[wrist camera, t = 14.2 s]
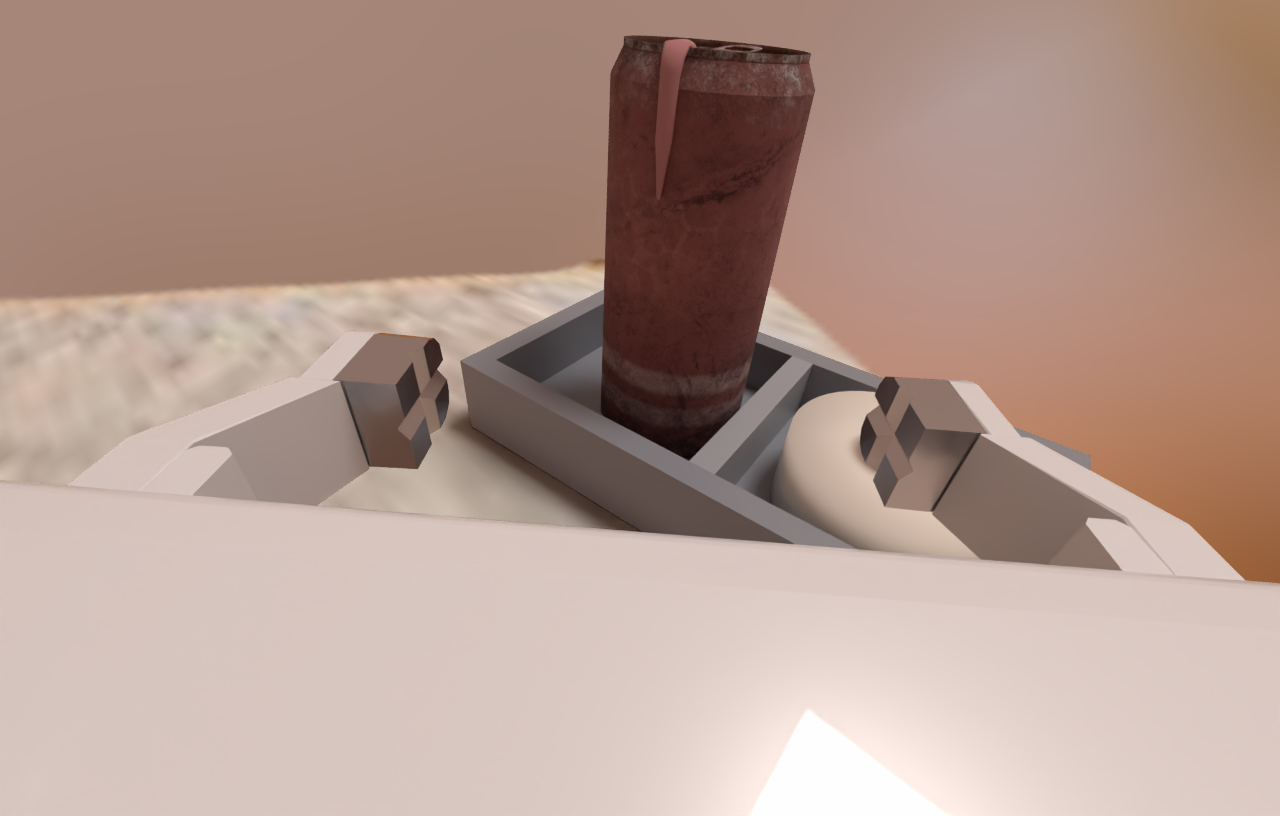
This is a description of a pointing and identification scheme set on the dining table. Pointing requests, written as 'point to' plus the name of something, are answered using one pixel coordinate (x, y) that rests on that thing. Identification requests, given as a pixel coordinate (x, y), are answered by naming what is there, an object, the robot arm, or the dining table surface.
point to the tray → (638, 468)
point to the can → (693, 225)
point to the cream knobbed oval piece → (849, 483)
